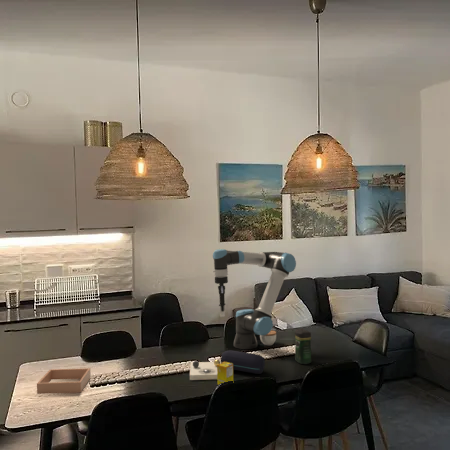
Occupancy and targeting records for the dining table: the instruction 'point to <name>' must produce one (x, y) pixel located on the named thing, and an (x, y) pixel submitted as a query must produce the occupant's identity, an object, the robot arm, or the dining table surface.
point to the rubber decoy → (195, 363)
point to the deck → (199, 374)
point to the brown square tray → (63, 387)
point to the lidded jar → (268, 338)
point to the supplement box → (224, 372)
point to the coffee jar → (303, 346)
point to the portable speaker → (244, 361)
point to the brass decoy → (216, 362)
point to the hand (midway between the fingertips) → (222, 316)
